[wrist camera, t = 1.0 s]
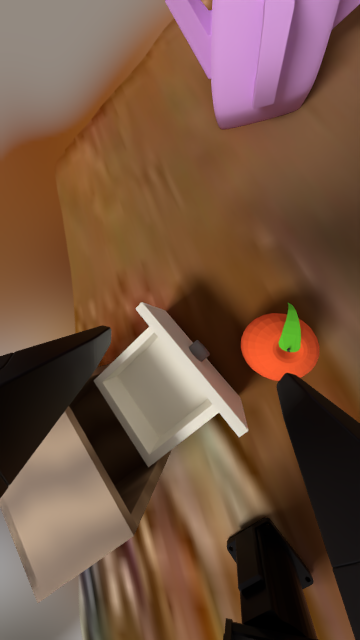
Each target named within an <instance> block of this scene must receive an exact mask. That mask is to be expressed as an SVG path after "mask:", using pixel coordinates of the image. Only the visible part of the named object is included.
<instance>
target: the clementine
mask: <svg viewBox="0 0 360 640" xmlns="http://www.w3.org/2000/svg"><path fill="white" fill-rule="evenodd" d="M288 305H289V307H288V313H287V314H279V313H271V314H266V315H262V316H260V317H258V318H256V319H254V320H253V321H252V322H251V323H250V324H249V325H248V326H247V327H246V329H245V330H244V332H243V335H242V338H241V350H242V354H243V357H244V359H245V361H246V362H247V364H248V365H249V366H250V367H251V368H252V369H253V370H254V371H255V372H257V373H258V374H260V375H261V376H263V377H266V378H269V379H271V380H276V381H280V379H281V378H282V377H283V375H284V374H285V373H291V374H295V375H297V376H298V377H299V378H300V377H303V376H304V375H306V374H307V373H308V372H310V371H311V370H312V369H313V367H314V366H315V365H316V363H317V360H318V357H319V344H318V340H317V337H316V336H315V334H314V332H313V331H312V329H311V328H310V327H309V326H308V325H307V324H306V323H305V322H304V321H302V320H300V319H298V315H297V312H296V310H295V308H294V307H293V305H291V304H290V303H288Z"/></svg>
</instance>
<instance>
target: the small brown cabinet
mask: <svg viewBox="0 0 360 640" xmlns="http://www.w3.org/2000/svg"><path fill="white" fill-rule="evenodd" d="M109 365H110V364H107V365H103V366H100V367H97V368H96V369H95V371H94V372H93V374H92V375H91V377H90V378H89V379H88V381H87V382H86V383H85V385H84V386H83V387H82V389H81V390H80V391H79V393H78V394H77V395H76V397H75V398H74V400H73V401H72V402H71V404H70V405H69V406H68V408H67V409H66V410H65V412H64V413H63V414H62V416H61V417H60V418H59V420H58V421H57V422H56V424H55V425H54V427H53V428H52V429H51V431H50V432H49V433H48V435H47V436H46V437H45V439H44V440H43V441H42V443H41V444H40V445H39V447H38V448H37V449H36V451H35V452H34V454H33V455H32V456H31V458H30V459H29V460H28V462H27V463H26V464H25V466H24V467H23V468H22V470H21V471H20V472H19V474H18V475H17V477H16V478H15V479H14V481H13V482H12V483H11V485H9V487H8V489H7V490H6V492H5V493H4V494H3V496H2V497H1V498H0V507H1V510H2V513H3V515H4V518H5V520H6V523H7V525H8V528H9V531H10V533H11V535H12V538H13V541H14V544H15V546H16V549H17V551H18V554H19V556H20V559H21V561H22V564H23V567H24V569H25V572H26V574H27V577H28V580H29V582H30V585H31V587H32V590H33V592H34V595H35V598H36V600H37V602H38V603H39V602H40V601H42V600H43V599H44V598H46V597H47V596H49V595H50V594H52V593H53V592H54V591H56V590H57V589H59V588H60V587H61V586H63V585H64V584H66V583H67V582H69V581H70V580H71V579H73V578H74V577H76V576H77V575H79V574H80V573H81V572H83V571H84V570H86V569H87V568H89V567H90V566H91V565H93V564H94V563H96V562H97V561H98V560H100V559H101V558H103V557H104V556H106V555H107V554H108V553H110V552H111V551H113V550H114V549H116V548H117V547H118V546H120V545H121V544H123V543H124V542H126V541H127V540H128V539H130V538H131V537H133V536H134V534H135V532H136V529H137V527H138V525H139V523H140V520H141V518H142V516H143V514H144V511H145V509H146V507H147V505H148V502H149V500H150V498H151V495H152V493H153V491H154V489H155V486H156V484H157V482H158V480H159V477H160V475H161V473H162V471H163V468H164V466H165V464H166V461H167V459H168V457H169V455H170V452H171V450H172V449H171V450H170V451H169V452H168V453H166V454H165V455H164V456H162V457H161V458H160V459H159V460H157V461H156V462H155V463H154V464H152V465H151V466H150V467H148V466H147V464H146V463H145V461H144V460H143V458H142V457H141V455H140V453H139V452H138V450H137V449H136V447H135V445H134V444H133V442H132V441H131V439H130V438H129V436H128V434H127V433H126V431H125V430H124V428H123V427H122V425H121V423H120V422H119V420H118V419H117V417H116V416H115V414H114V412H113V411H112V409H111V408H110V406H109V404H108V403H107V401H106V400H105V398H104V397H103V395H102V393H101V392H100V390H99V389H98V387H97V386H96V384H95V382H94V380H95V379H96V378H97V377H98V376H99V375H100V374H101V373H102V372H103V371H104V370H105V369H106V368H107V367H108V366H109Z"/></svg>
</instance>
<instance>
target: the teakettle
mask: <svg viewBox="0 0 360 640" xmlns="http://www.w3.org/2000/svg"><path fill="white" fill-rule="evenodd" d="M165 2H166V4H167V6H168V7H169V9H170V11H171V13H172V15H173V16H174V18H175V20H176V22H177V24H178V25H179V27H180V29H181V31H182V32H183V34H184V36H185V38H186V40H187V41H188V43H189V45H190V47H191V48H192V50H193V52H194V54H195V56H196V57H197V59H198V61H199V63H200V64H201V66H202V68H203V70H204V72H205V73H206V75H207V77H208V79H211V85H212V97H213V105H214V111H215V116H216V120H217V123H218V125H219V127H220V129H230V128H235V127H239V126H244V125H248V124H252V123H256V122H260V121H264V120H267V119H271V118H274V117H278V116H281V115H284V114H288V113H291V112H293V111H296V110H298V109H299V108H300V107H301V105H302V104H303V102H304V101H305V99H306V97H307V96H308V94H309V92H310V90H311V88H312V86H313V84H314V81H315V79H316V76H317V74H318V71H319V68H320V65H321V62H322V59H323V56H324V53H325V50H326V47H327V44H328V40H329V37H330V34H331V30H332V29H333V28H334V27H335V26H336V25H338V24H339V23H340V22H341V21H342V20H343V19H344V18H345V17H346V16H347V15H348V14H350V13H351V12H352V11H353V10H354V9H355V8H356V7H357V6H358V5H359V4H360V0H213V3H212V10H210V11H209V10H208V9H207V8H206V7H205V5H204V4H203V3H202V2H201V0H165Z"/></svg>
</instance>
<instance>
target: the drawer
mask: <svg viewBox="0 0 360 640" xmlns="http://www.w3.org/2000/svg"><path fill="white" fill-rule="evenodd" d="M136 310H137V311H138V313H139V314H140V315H141V316H142V318H143V319H144V320H145V321H146V323H147V324H148V325H149V327H148V328H147V329H146V330H145V331H144V332H143V333H142V334H141V335H140V336H139V337H138V338H137V339H136V340H135V341H134V342H133V343H132V344H131V345H130V346H129V347H128V348H127V349H126V350H125V351H124V352H123V353H122V354H121V355H119V356H118V357H117V358H116V359H115V360H114V361H113V362H112V363H111V364H110V365H109V366H108V367H107V368H106V369H105V370H104V371H103V372H102V373H101V374H100V375H99V376H98V377H97V378H96V379H95V380H94V382H95V384H96V386H97V387H98V389H99V390H100V392H101V393H102V395H103V397H104V398H105V400H106V401H107V403H108V404H109V406H110V408H111V409H112V411H113V412H114V414H115V416H116V417H117V419H118V420H119V422H120V423H121V425H122V427H123V428H124V430H125V431H126V433H127V434H128V436H129V438H130V439H131V441H132V442H133V444H134V445H135V447H136V449H137V450H138V452H139V453H140V455H141V457H142V458H143V460H144V461H145V463H146V464H147V466H148V467H150V466H151V465H152V464H154V463H155V462H156V461H157V460H159V459H160V458H161V457H162V456H164V455H165V454H166V453H168V452H169V451H170V450H171V449H173V448H174V447H175V446H177V445H178V444H179V443H180V442H182V441H183V440H184V439H186V438H187V437H188V436H189V435H191V434H192V433H193V432H194V431H196V430H197V429H198V428H200V427H201V426H202V425H203V424H205V423H206V422H207V421H209V420H210V419H211V418H212V417H214V416H215V415H216V414H218V413H220V414H221V415H222V417H223V418H224V419H225V420H226V422H227V423H228V424H229V425H230V427H231V428H232V429H233V430H234V432H235V433H236V434H237V435H238V437H240V436H242V435H243V434H244V433H246V432H247V431H249V430H248V426H247V422H246V418H245V414H244V410H243V406H242V402H241V398H240V397H239V395H238V394H237V393H236V392H235V391H234V390H233V389H232V387H231V386H230V385H229V384H228V383H227V382H226V380H225V379H224V378H223V377H222V376H221V375H220V373H219V372H218V371H217V370H216V369H215V368H214V367H213V365H212V364H211V363H210V362H209V361H208V360H207V357H208V356H209V355H210V353H209V352H208V350H207V349H206V348H205V346H204V345H203V344H202V343H201V342H200V341H198V340H196V341H195V342H194V343H193V342H192V341H191V340H190V339H189V338H188V336H187V335H186V334H185V333H184V332H183V331H182V329H181V328H180V327H179V326H178V325H177V324H176V322H175V321H174V320H173V319H172V318H171V317H170V316H169V314H168V313H167V312H166V311H165V310H163V309H160V308H157V307H154V306H151V305H149V304H146V303H143V302H142V303H141V304H140V305H139V306H138V307H137V308H136Z"/></svg>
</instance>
